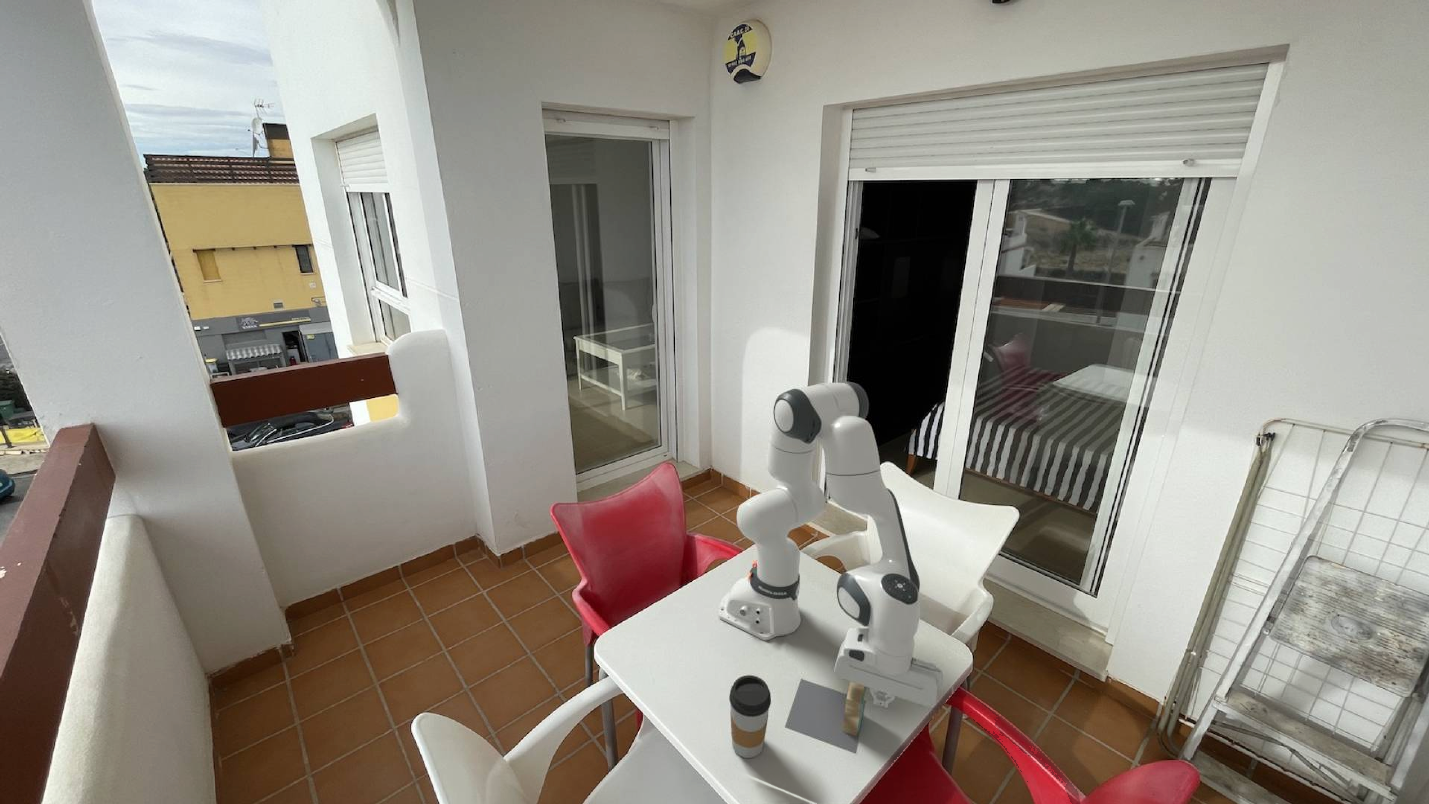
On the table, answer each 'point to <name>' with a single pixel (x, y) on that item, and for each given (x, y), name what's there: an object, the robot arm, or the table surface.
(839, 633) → the table surface
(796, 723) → the mat
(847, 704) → the plaque
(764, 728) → the coffee cup
